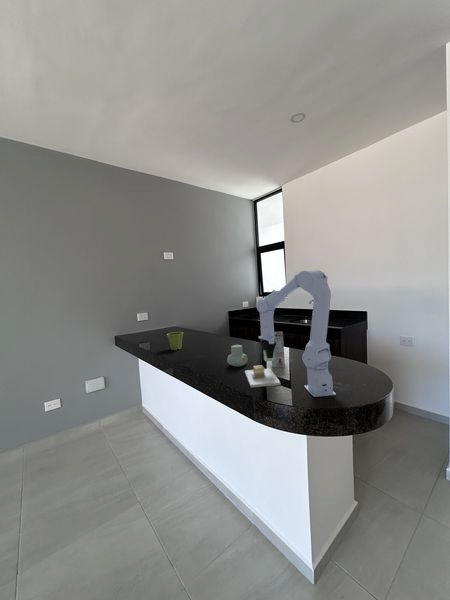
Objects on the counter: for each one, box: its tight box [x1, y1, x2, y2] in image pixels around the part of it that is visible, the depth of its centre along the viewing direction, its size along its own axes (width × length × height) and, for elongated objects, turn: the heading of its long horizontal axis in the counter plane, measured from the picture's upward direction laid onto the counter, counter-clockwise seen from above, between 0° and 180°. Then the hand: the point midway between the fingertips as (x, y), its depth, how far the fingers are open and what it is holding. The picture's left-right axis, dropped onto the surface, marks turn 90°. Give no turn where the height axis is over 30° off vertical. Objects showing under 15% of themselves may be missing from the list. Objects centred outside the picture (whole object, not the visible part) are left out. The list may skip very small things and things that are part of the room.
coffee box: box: [271, 331, 286, 368], centre depth 126 cm, size 9×6×16 cm
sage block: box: [262, 349, 275, 362], centre depth 111 cm, size 4×4×4 cm
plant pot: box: [166, 331, 184, 351], centre depth 177 cm, size 12×12×11 cm
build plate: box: [244, 368, 281, 388], centre depth 108 cm, size 18×12×1 cm, turn 3°
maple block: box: [252, 364, 265, 378], centre depth 108 cm, size 4×4×4 cm
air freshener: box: [226, 344, 249, 367], centre depth 130 cm, size 11×8×10 cm
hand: (269, 356), depth 111 cm, fingers closed on sage block, 4 cm apart
